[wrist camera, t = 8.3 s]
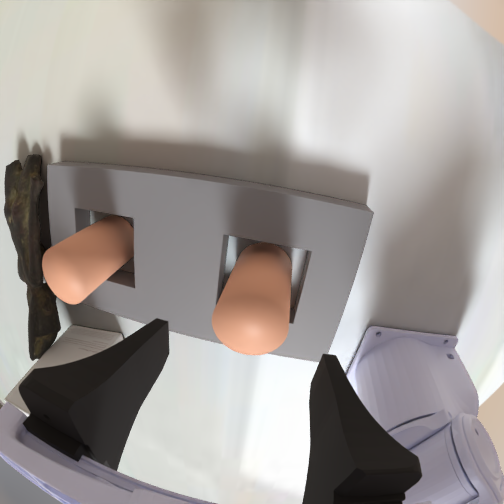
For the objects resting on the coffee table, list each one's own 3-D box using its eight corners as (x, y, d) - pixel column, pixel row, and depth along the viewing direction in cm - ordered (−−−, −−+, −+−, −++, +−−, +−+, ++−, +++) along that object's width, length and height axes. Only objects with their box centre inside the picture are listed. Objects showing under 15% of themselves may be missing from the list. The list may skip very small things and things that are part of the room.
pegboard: (366, 205, 19) (373, 212, 17) (322, 346, 23) (323, 362, 22) (62, 161, 20) (47, 164, 19) (71, 285, 25) (59, 294, 23)
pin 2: (296, 247, 21) (295, 300, 14) (286, 297, 22) (281, 360, 16) (239, 238, 21) (214, 286, 14) (233, 287, 22) (210, 347, 16)
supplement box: (70, 322, 27) (0, 396, 16) (123, 331, 26) (52, 426, 15) (92, 372, 30) (39, 445, 18) (143, 384, 29) (93, 473, 17)
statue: (36, 161, 24) (55, 341, 27) (-6, 161, 19) (20, 358, 22) (68, 151, 22) (89, 356, 26) (19, 148, 17) (51, 379, 20)
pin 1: (137, 219, 21) (82, 254, 15) (137, 266, 23) (89, 311, 17) (96, 212, 22) (38, 242, 15) (98, 256, 23) (47, 295, 17)
